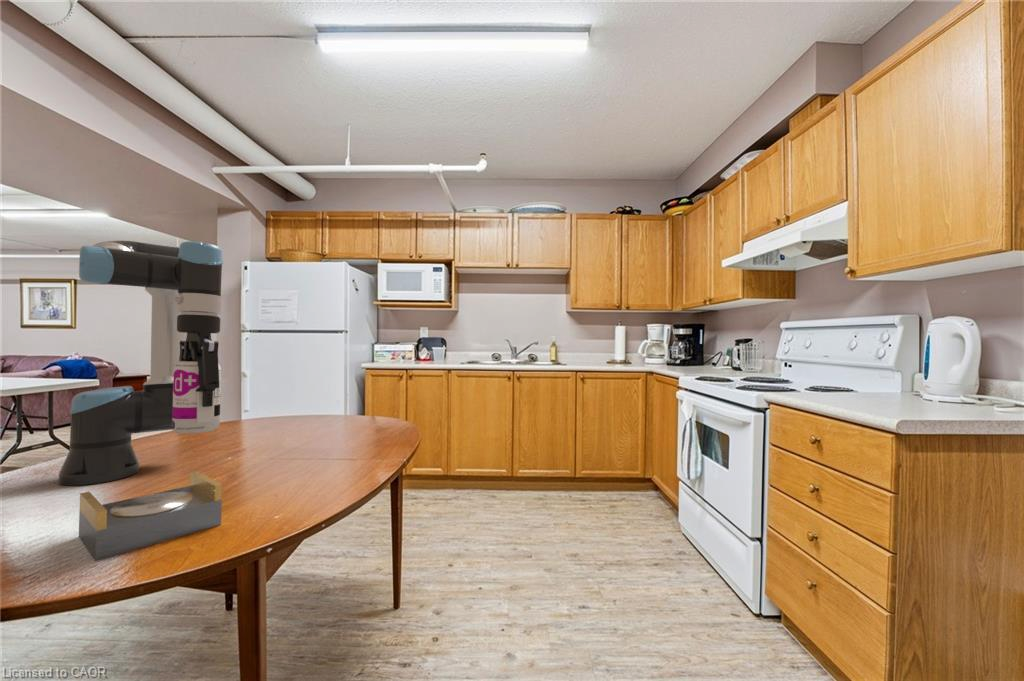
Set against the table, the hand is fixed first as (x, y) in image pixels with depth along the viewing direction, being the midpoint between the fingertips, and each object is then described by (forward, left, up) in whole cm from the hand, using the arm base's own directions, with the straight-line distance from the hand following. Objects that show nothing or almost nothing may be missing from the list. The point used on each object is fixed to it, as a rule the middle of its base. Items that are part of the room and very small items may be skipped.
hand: (196, 419), depth 90 cm
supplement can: (0, 0, -2) cm, 2 cm away
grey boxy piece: (+5, -8, -20) cm, 22 cm away
